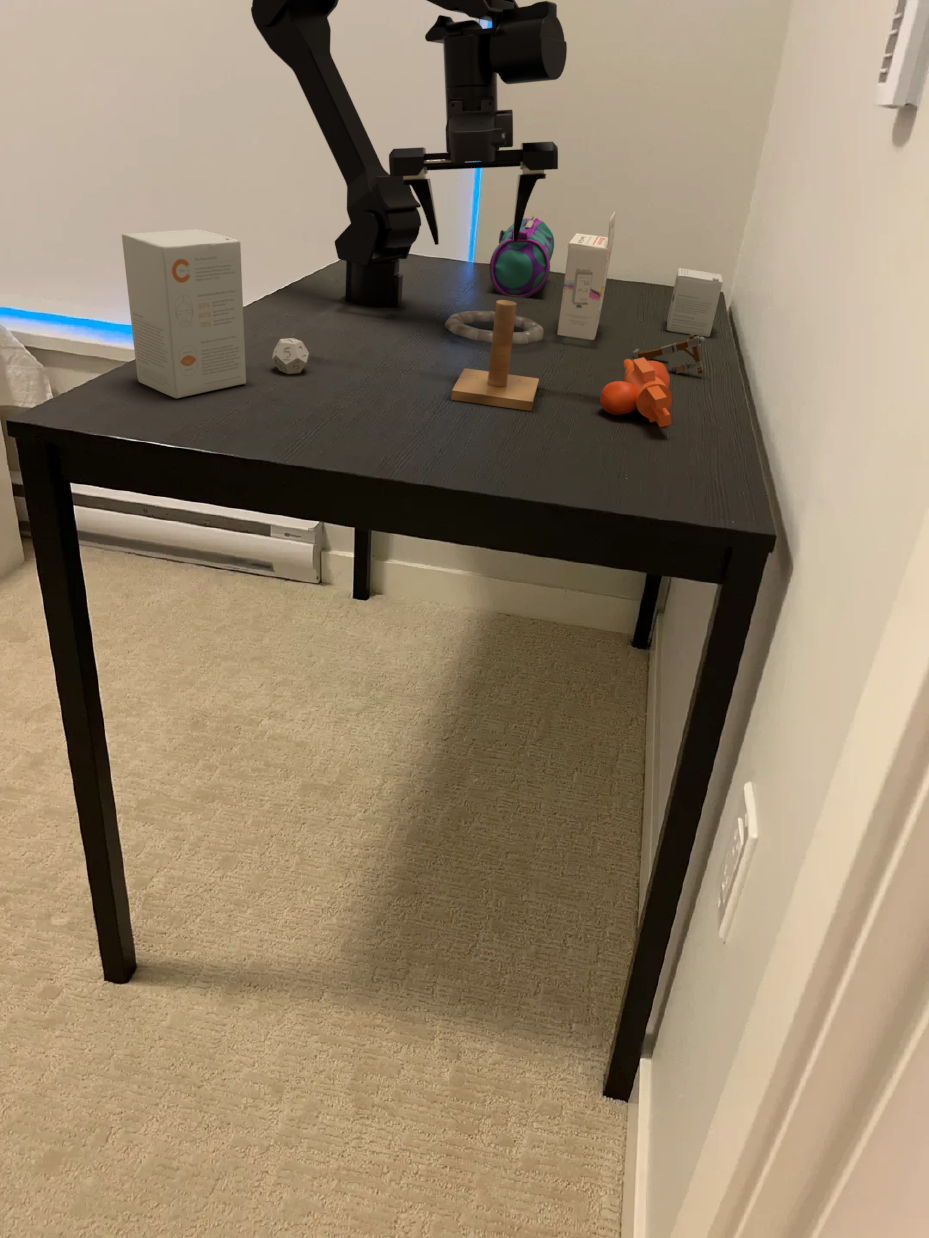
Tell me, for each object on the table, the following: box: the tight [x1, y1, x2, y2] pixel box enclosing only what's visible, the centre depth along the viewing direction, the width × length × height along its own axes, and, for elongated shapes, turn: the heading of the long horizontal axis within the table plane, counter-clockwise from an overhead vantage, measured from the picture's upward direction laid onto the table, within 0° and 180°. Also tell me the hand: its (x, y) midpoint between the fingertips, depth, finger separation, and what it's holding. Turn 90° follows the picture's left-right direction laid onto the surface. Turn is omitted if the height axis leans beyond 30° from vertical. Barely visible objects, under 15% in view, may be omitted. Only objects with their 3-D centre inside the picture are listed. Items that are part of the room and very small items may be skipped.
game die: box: [271, 337, 310, 375], centre depth 89 cm, size 4×4×3 cm
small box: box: [121, 228, 247, 399], centre depth 81 cm, size 8×6×13 cm
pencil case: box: [488, 215, 555, 299], centre depth 133 cm, size 21×9×10 cm, turn 174°
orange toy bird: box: [599, 357, 673, 428], centre depth 87 cm, size 5×8×12 cm
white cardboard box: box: [665, 267, 724, 338], centre depth 121 cm, size 6×6×7 cm
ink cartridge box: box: [556, 211, 616, 341], centre depth 109 cm, size 9×5×15 cm, turn 168°
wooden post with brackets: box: [633, 334, 706, 375], centre depth 103 cm, size 2×8×4 cm, turn 69°
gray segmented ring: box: [444, 310, 545, 345], centre depth 109 cm, size 12×12×2 cm
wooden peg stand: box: [450, 299, 540, 412], centre depth 88 cm, size 8×8×9 cm
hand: (475, 243), depth 104 cm, fingers open, 9 cm apart
